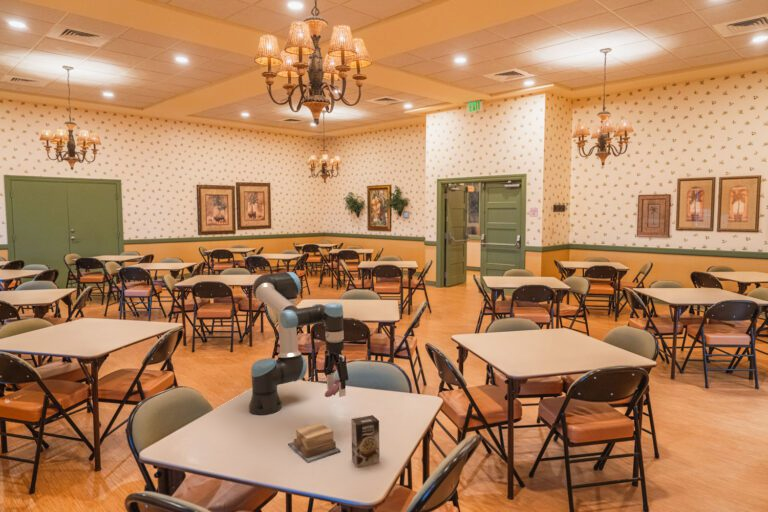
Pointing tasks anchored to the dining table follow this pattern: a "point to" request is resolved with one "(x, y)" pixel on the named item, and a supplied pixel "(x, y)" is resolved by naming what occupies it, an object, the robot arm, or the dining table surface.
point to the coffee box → (365, 440)
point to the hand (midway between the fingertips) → (336, 392)
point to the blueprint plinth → (314, 442)
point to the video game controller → (333, 389)
